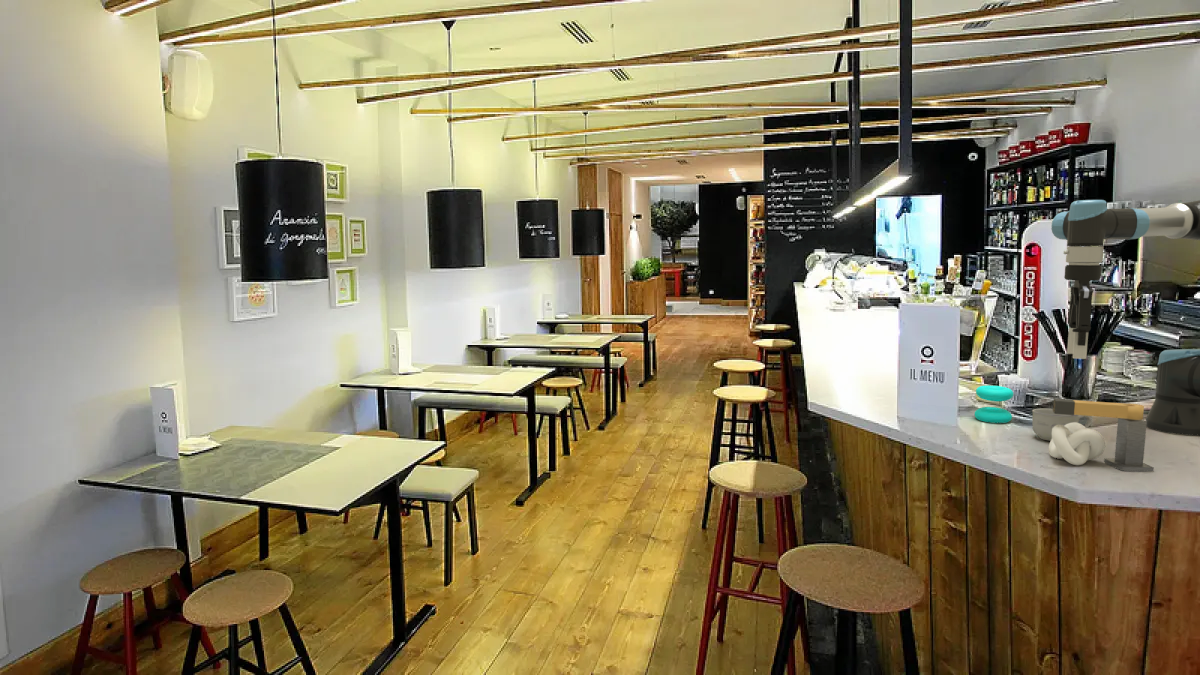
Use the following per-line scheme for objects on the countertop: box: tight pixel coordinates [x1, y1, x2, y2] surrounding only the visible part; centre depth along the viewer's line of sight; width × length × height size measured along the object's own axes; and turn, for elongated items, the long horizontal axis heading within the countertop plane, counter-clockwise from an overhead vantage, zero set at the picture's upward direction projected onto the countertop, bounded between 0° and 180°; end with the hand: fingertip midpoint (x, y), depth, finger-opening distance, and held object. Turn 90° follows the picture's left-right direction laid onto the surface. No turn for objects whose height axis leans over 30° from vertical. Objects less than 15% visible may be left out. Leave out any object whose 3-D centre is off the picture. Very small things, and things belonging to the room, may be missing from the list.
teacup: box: [1031, 408, 1093, 442], centre depth 198 cm, size 14×11×8 cm
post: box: [1103, 418, 1155, 472], centre depth 174 cm, size 7×7×12 cm
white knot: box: [1048, 422, 1106, 466], centre depth 179 cm, size 11×12×9 cm
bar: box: [1052, 397, 1145, 420], centre depth 176 cm, size 18×4×3 cm, turn 66°
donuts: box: [974, 384, 1014, 424], centre depth 221 cm, size 10×10×10 cm
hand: (1076, 355), depth 182 cm, fingers open, 8 cm apart
